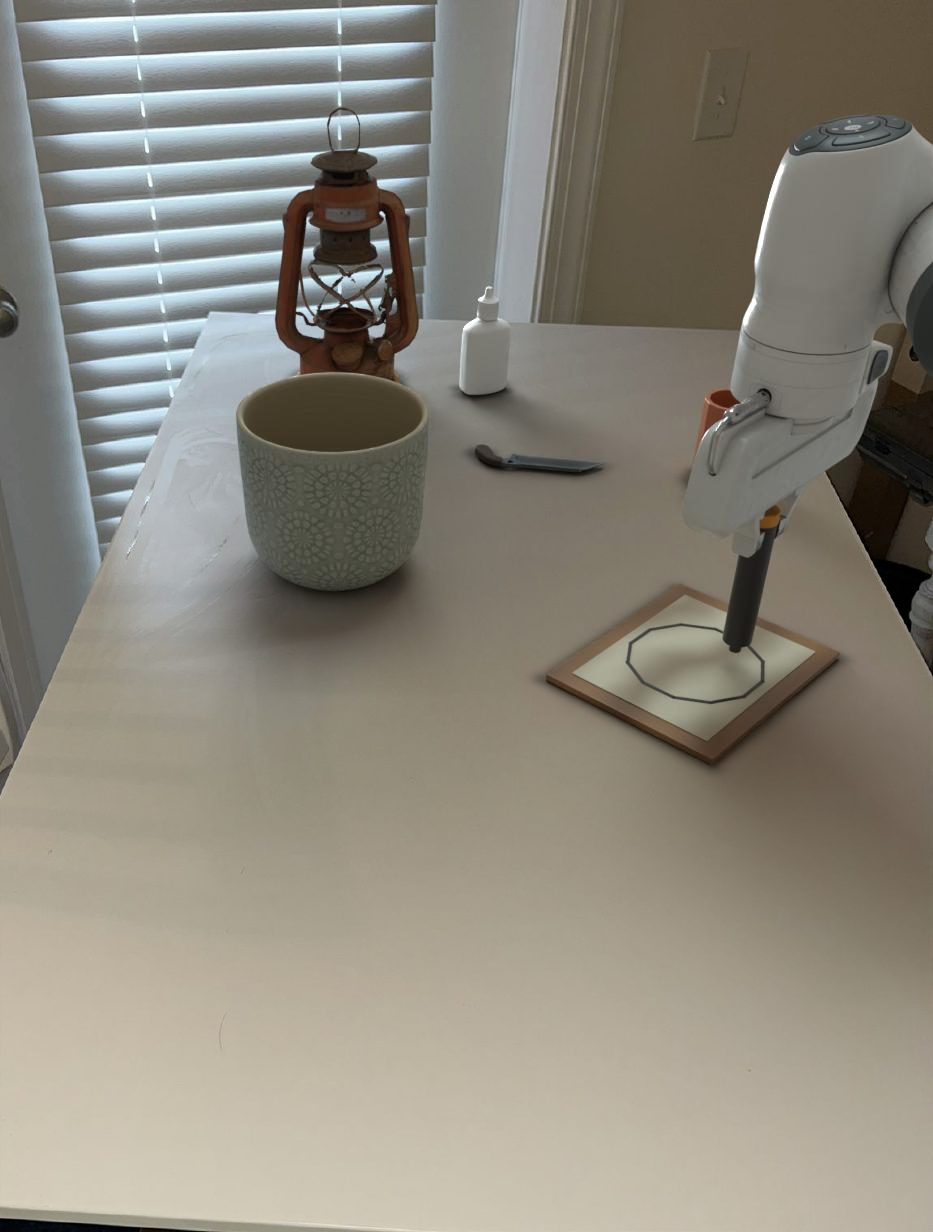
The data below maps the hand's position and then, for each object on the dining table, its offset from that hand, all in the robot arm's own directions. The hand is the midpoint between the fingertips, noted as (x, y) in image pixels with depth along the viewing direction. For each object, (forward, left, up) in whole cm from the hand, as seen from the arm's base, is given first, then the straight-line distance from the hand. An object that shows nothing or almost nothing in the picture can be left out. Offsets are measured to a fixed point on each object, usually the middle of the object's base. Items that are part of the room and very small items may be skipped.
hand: (758, 543), depth 97 cm
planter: (+36, +11, -12) cm, 40 cm away
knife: (+35, -19, -12) cm, 42 cm away
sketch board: (+2, +2, -12) cm, 12 cm away
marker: (0, 0, -10) cm, 10 cm away
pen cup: (+19, -29, -12) cm, 37 cm away
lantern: (+65, -20, -12) cm, 69 cm away
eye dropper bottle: (+52, -30, -12) cm, 61 cm away
